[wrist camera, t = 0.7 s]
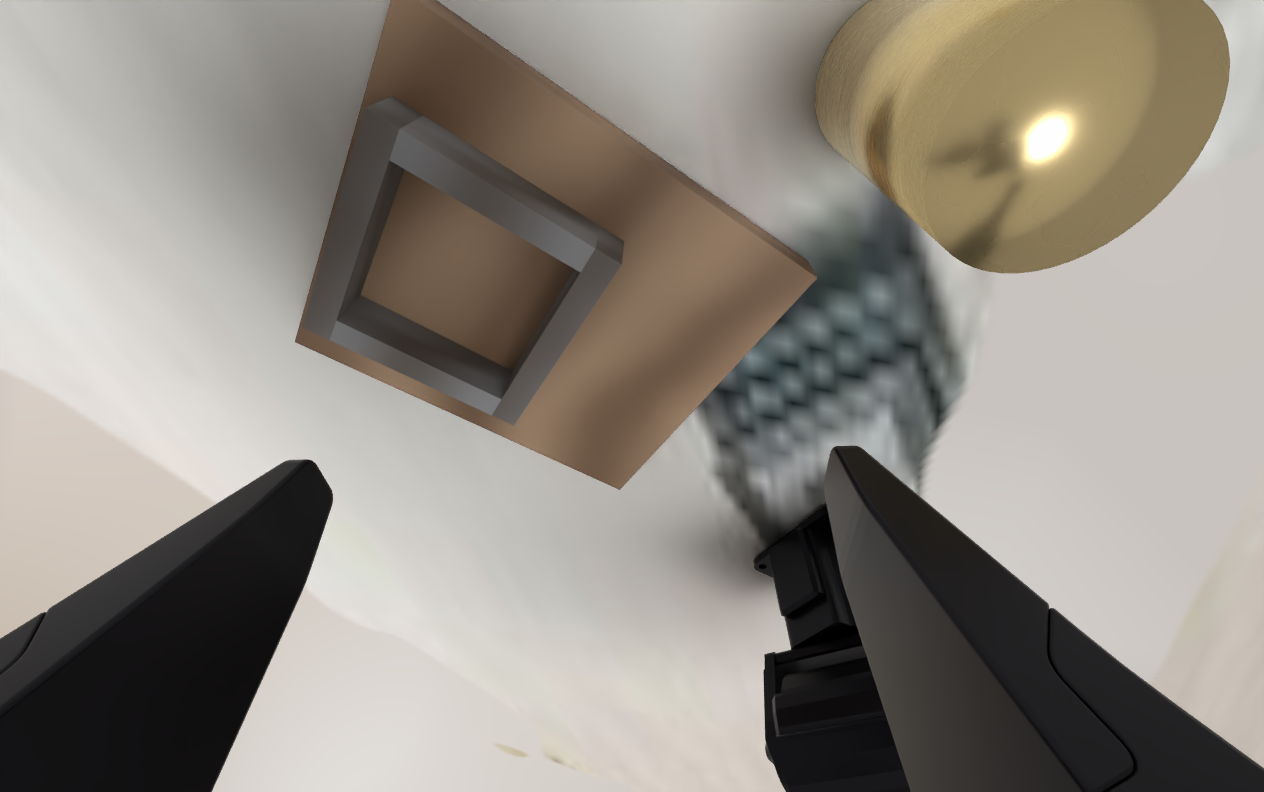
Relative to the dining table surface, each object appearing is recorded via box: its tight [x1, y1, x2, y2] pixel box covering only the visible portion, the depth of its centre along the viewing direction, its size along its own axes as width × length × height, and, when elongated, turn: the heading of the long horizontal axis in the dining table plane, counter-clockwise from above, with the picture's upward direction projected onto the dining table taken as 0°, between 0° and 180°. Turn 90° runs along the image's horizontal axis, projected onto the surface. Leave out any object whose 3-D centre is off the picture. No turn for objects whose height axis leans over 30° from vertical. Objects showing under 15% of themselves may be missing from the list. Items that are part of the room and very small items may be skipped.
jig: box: [295, 0, 817, 490], centre depth 21 cm, size 16×14×4 cm
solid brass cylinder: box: [815, 0, 1230, 273], centre depth 14 cm, size 5×5×9 cm
